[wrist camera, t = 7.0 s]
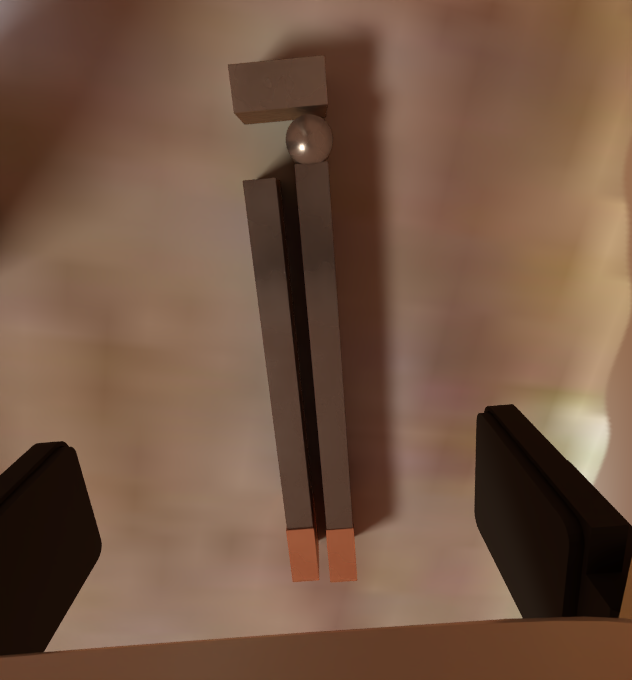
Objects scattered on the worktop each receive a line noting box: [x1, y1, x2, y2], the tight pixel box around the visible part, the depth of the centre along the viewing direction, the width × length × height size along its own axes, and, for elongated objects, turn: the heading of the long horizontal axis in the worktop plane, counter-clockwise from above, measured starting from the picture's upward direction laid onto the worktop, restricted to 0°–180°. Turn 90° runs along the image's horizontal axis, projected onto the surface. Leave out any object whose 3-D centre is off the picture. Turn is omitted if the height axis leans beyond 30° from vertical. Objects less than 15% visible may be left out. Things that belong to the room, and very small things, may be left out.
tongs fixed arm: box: [228, 55, 328, 582], centre depth 26 cm, size 30×4×4 cm, turn 5°
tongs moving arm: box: [286, 114, 357, 582], centre depth 27 cm, size 27×2×4 cm, turn 5°
